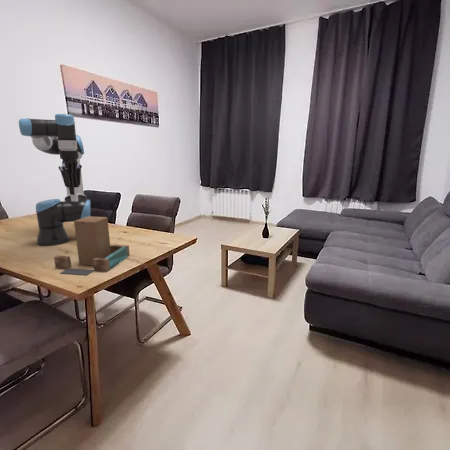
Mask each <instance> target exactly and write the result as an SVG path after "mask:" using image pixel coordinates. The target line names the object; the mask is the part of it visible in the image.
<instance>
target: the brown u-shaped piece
mask: <svg viewBox="0 0 450 450" xmlns="http://www.w3.org/2000/svg"><path fill="white" fill-rule="evenodd" d="M110 249H111V255H109V256H107V257H106V258H95V259H93V264H94V265H93V270H94V271H96V272H109V271H110V270H111V269H113V268H114V267H116V266H117V265H118V264H120V263H121V262H123V261H125V259H127V258H128V257H129V256H130V245H128V244H127V245H126V244H125V245H123V244H110ZM53 258H54V259H53V260H54V266H55V269H63V270H66V269H68V268H72V262H71V256H69V255H56V256H54V257H53ZM94 271H93V272H94Z"/></svg>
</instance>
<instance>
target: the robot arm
mask: <svg viewBox="0 0 450 450" xmlns="http://www.w3.org/2000/svg"><path fill="white" fill-rule="evenodd" d="M75 124H76V122H75V118H74V115H72V114H67V113H56V114H55V115H54V119H43V118H42V119H39V118H20V119H19V120H18V127H19V132H20V134H21V136H25V137H30V138H31V139H32V144H33V146H34V147H35V149H37V150H39V151H40V152H43V153H46V154H49V155H59V158H60V159H61V160H62V162H61V163H62V164H61V166H58V170H59V171H60V174H61V178H62V180H63V183H64V186H65V187H66V196H65V197H64V201H62V200H61V199H60V198H51V199H47V200H42V201H39V202H37V203H36V204H35V213H36V218H37V224H38V233H37V237H36V242H37V243H36V244H37V245H38V246H42V247H43V246H57V245H60V244H65V243H67V242H68V241H69V234H68V233H67V231H66V229H65V228H64V223H72V222H73V223H74V221H76V220H79V219H82V218H85V217H88V216H91V199H88V197H87V196H86V194H85V191H84V185H83V184H84V183H83V175H82V168H83V166H82V164H81V159H82V157H83V155H85V150H84V145H83V141H82V138H81V136H80V135H78V134H77V132H76V125H75Z"/></svg>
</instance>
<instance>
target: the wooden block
mask: <svg viewBox="0 0 450 450" xmlns="http://www.w3.org/2000/svg"><path fill="white" fill-rule="evenodd" d="M108 219H109V218H108V217H107V216H92V215H90V216H88V217H85V218H82V219H79V220H76V221H74V222H73V225H74V233H75V239H76V248H77V255H78V257H77V258H78V265H84V266H94V264H93V259H95V258H106V257H107V256H109V255H111V249H110V245H111V241H110V231H109V221H108Z"/></svg>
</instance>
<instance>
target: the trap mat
mask: <svg viewBox="0 0 450 450" xmlns="http://www.w3.org/2000/svg"><path fill="white" fill-rule="evenodd" d="M93 272H94V269H84V268H82V269H81V268H73V267H71V268H68V269H63V271H61V272H60V273H59V274H60V275H61V274H63V275H74V276H88V275H90V274H92V273H93Z"/></svg>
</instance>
